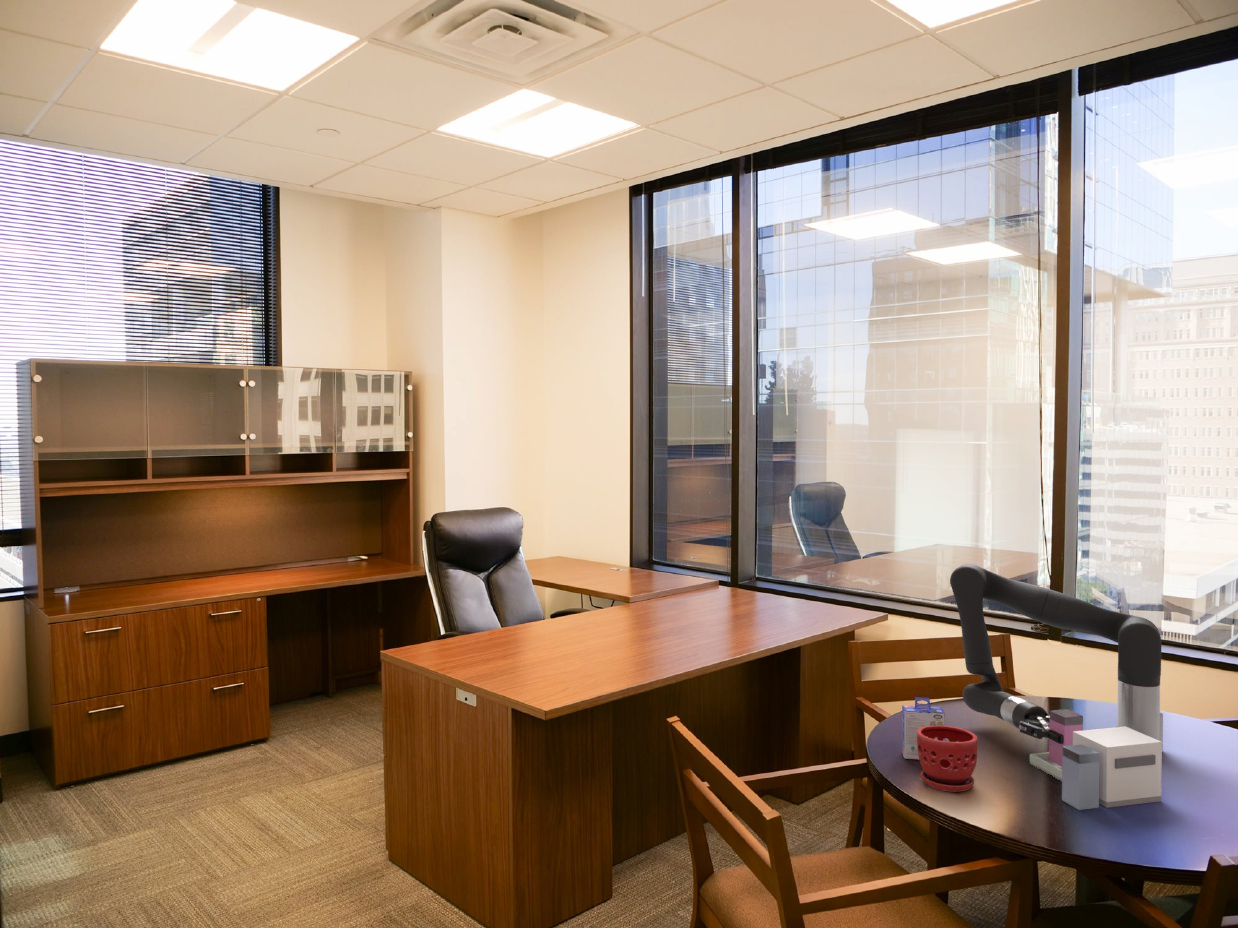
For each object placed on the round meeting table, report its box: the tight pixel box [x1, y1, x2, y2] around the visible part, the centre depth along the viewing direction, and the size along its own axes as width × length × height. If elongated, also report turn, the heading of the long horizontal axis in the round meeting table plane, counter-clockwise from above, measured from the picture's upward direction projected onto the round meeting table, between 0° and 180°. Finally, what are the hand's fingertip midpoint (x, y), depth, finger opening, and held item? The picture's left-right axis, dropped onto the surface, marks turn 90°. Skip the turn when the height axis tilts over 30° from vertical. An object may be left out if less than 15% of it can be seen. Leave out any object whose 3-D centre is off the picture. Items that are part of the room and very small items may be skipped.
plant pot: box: [917, 725, 979, 793], centre depth 194 cm, size 13×13×12 cm
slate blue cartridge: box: [1061, 745, 1100, 811], centre depth 183 cm, size 5×5×12 cm
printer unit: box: [1073, 726, 1163, 809], centre depth 187 cm, size 14×11×13 cm
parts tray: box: [1029, 751, 1062, 783], centre depth 201 cm, size 11×11×2 cm
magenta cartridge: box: [1048, 708, 1084, 766], centre depth 200 cm, size 5×5×12 cm
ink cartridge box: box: [901, 696, 946, 760], centre depth 210 cm, size 10×6×14 cm, turn 78°
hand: (1072, 738), depth 198 cm, fingers closed on magenta cartridge, 5 cm apart
